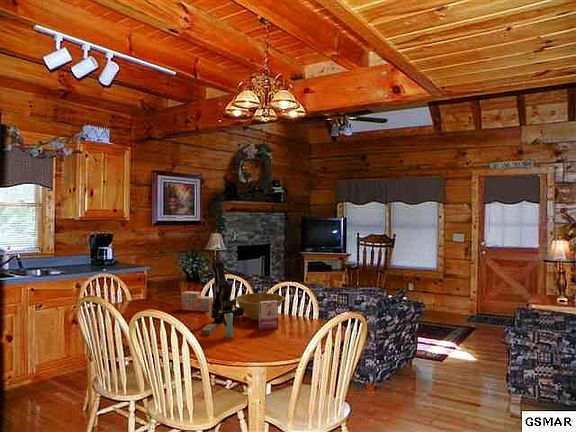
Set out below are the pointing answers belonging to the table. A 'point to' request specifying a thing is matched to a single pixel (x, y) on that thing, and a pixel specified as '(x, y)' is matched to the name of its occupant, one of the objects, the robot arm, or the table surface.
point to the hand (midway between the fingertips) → (229, 325)
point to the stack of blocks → (196, 301)
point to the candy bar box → (268, 315)
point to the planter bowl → (256, 302)
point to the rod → (229, 325)
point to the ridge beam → (208, 329)
